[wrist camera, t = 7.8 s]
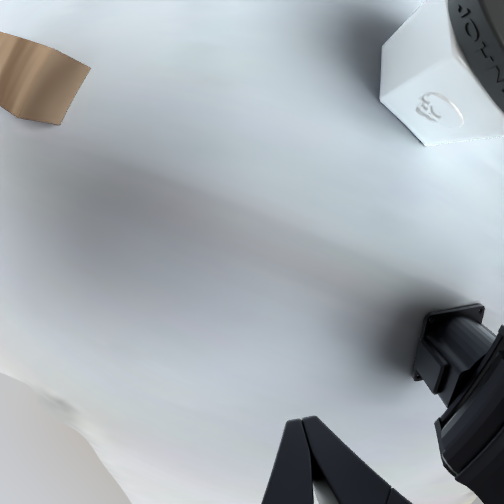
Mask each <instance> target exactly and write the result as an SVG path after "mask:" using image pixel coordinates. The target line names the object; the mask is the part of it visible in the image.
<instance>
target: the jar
mask: <svg viewBox="0 0 504 504" xmlns="http://www.w3.org/2000/svg"><path fill="white" fill-rule="evenodd" d="M380 101H381V103H383V104H384V105H385V106H386V107H387V108H388V109H389V110H390V111H391V112H392V113H393V114H394V115H395V116H397V117H398V118H399V119H400V120H401V121H402V122H403V123H404V124H405V125H406V126H407V127H408V128H409V129H410V130H411V131H412V132H413V133H414V134H415V136H416V137H417V138H418V139H419V140H420V141H421V142H422V143H423V144H424V145H425V146H433V145H440V144H447V143H454V142H462V141H470V140H479V139H488V138H498V137H504V0H426V1H425V2H424V3H423V4H422V5H421V6H420V7H419V8H418V9H417V10H416V11H415V12H414V13H413V14H412V15H411V16H410V17H409V18H408V19H407V20H406V21H405V22H404V23H403V24H402V25H401V26H400V27H399V28H398V30H397V31H396V32H395V33H394V34H393V35H392V36H391V37H390V38H389V39H388V40H387V41H386V42H385V43H384V44H383V46H382V58H381V83H380Z"/></svg>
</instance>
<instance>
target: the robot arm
mask: <svg viewBox="0 0 504 504" xmlns="http://www.w3.org/2000/svg"><path fill="white" fill-rule="evenodd" d="M479 310H480V311H479ZM484 310H485V308H484V306H483V305H481V304H477V305H472V306H467V307H461V308H455V309H450V310H444V311H438V312H431V313H428V314H427V315H426V316H425V319H424V324H423V330H422V335H421V339H420V341H419V345H418V350H417V354H416V358H415V363H414V370H413V374H412V378H413V379H414V381H421V380H424V381H425V383H426V384H427V386H428V387H429V389H430V390H431V392H432V393H433V394H434V395H435V394H438V395H439V397H440V398H441V400H442V401H443V403H444V404H445V405H446V407H447V408H448V409H447V410H446V411H445V412H444V414H443V415H442V416H441V417H439V418H438V419H437V421H436V422H435V423H434V424H435V429H436V433H437V438H438V443H439V449H440V454H441V459H442V462H443V466H444V467H445V468H446V469H447V470H448V472H449V473H450V474H451V475H453V476H454V477H455V480H456V481H458V482H460V483H461V484H463V485H465V486H467V487H468V488H469V489H471V490H472V491H473V492H474V493H475V494H476V495H477V496H478V497H479V498H480V499H481V501H482V502H483V503H484V504H504V325H501V327H500V329H499V330H498V332H499V333H498V335H497V336H496V335H495V334H494V333H492V332H491V331H490V330H489V329H488V328H486V327H485V326H484V325H483V324H481V323H482V319H483V315H484ZM431 318H432V319H431ZM430 319H431V321H429V320H430ZM417 375H418V376H417ZM313 488H314V491H315V494H316V496H317V499H318V502H319V504H412V503H411V502H410V501H409V500H407V499H406V498H405V497H403V496H402V495H401V494H400V493H399V492H397V491H396V490H395V489H394V488H391V486H390V485H389V484H388V483H387V482H386V481H385V480H383V479H382V478H381V477H380V476H379V475H378V474H377V473H376V472H375V471H373V470H372V469H371V468H370V467H369V466H368V465H367V464H366V463H365V462H364V461H362V460H361V459H360V458H359V457H358V456H357V455H356V454H355V453H354V452H353V451H352V450H351V449H350V448H349V447H348V446H347V445H345V444H344V443H343V442H342V441H341V440H340V439H339V438H338V437H337V436H336V435H335V434H334V433H333V432H332V431H331V430H330V429H329V428H328V427H327V426H326V425H325V424H324V423H323V422H322V421H321V420H320V419H319V418H318V417H317V416H309V417H304V418H302V420H301V419H294V420H289V421H287V422H286V424H285V428H284V432H283V435H282V439H281V442H280V446H279V449H278V453H277V456H276V459H275V463H274V466H273V469H272V473H271V476H270V479H269V482H268V485H267V488H266V491H265V494H264V497H263V500H262V503H261V504H314V497H313Z"/></svg>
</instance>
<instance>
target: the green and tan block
mask: <svg viewBox="0 0 504 504" xmlns="http://www.w3.org/2000/svg"><path fill="white" fill-rule="evenodd" d="M90 69H91V68H90V67H88V66H86V65H84V64H82V63H81V62H79V61H77V60H75V59H73V58H71V57H69V56H67V55H65V54H63V53H61V52H59V51H57V50H55V49H53V48H50V47H47V46H44V45H41V44H38V43H35V42H32V41H29V40H26V39H23V38H20V37H17V36H13V35H10V34H6V33H3V32H0V106H1V107H3V108H4V109H6V110H7V111H8V112H10V113H11V114H13V115H14V116H16V117H17V118H21V119H27V120H34V121H40V122H46V123H52V124H57V125H60V124H61V122H62V120H63V118H64V116H65V114H66V112H67V110H68V108H69V106H70V104H71V102H72V100H73V99H74V97H75V95H76V93H77V91H78V90H79V88H80V86H81V84H82V83H83V81H84V79H85V78H86V76H87V74H88V73H89V71H90Z"/></svg>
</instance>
